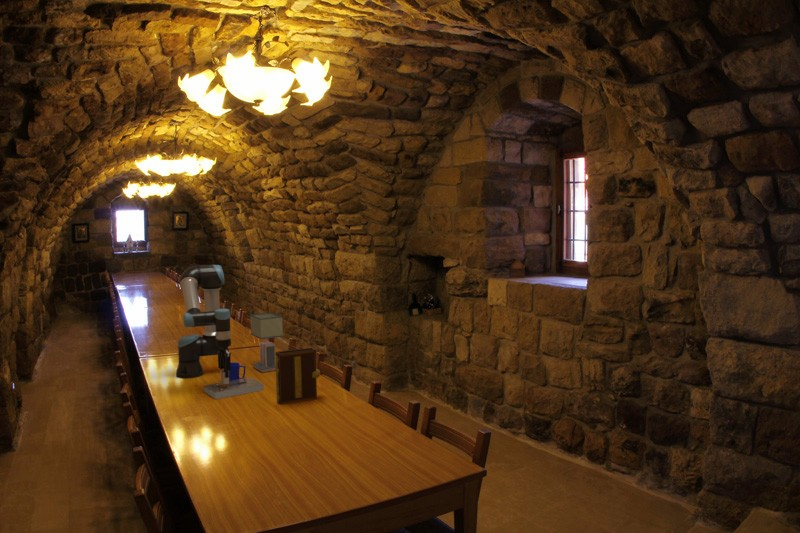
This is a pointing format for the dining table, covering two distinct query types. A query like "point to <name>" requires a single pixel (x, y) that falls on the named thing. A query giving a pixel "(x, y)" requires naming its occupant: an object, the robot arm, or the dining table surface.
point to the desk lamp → (264, 329)
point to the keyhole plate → (233, 388)
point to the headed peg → (223, 379)
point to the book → (296, 375)
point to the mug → (235, 371)
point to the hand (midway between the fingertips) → (225, 382)
